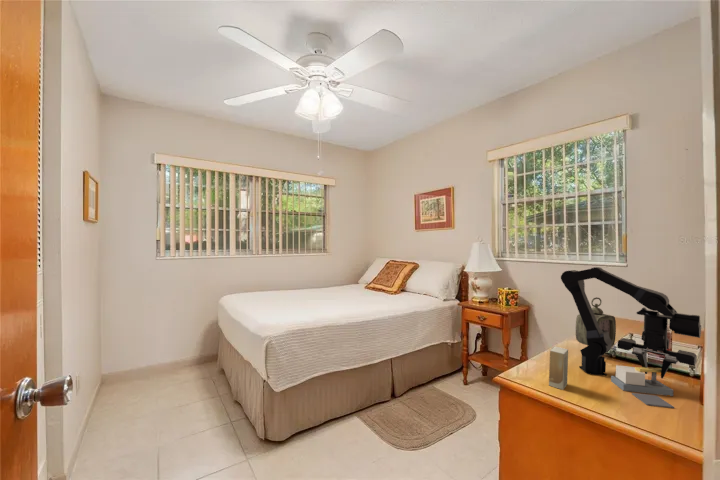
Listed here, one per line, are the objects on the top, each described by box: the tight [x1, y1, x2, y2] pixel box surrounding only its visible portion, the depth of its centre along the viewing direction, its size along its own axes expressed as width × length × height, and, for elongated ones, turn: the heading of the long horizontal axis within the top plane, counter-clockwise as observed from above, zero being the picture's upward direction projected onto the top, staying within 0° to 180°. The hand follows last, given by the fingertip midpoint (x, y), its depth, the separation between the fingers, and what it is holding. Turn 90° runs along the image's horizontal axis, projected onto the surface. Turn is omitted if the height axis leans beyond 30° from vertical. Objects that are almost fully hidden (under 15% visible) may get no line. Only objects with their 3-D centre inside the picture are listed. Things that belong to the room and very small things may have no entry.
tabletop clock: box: [575, 297, 617, 347], centre depth 138 cm, size 14×9×25 cm, turn 114°
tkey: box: [635, 366, 662, 384], centre depth 104 cm, size 8×2×5 cm, turn 88°
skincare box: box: [548, 346, 569, 390], centre depth 105 cm, size 6×4×12 cm
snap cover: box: [615, 365, 646, 386], centre depth 105 cm, size 6×6×4 cm
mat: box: [631, 392, 675, 409], centre depth 96 cm, size 7×7×1 cm
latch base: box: [610, 375, 674, 397], centre depth 105 cm, size 14×7×2 cm, turn 78°
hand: (654, 376), depth 104 cm, fingers closed on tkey, 3 cm apart
